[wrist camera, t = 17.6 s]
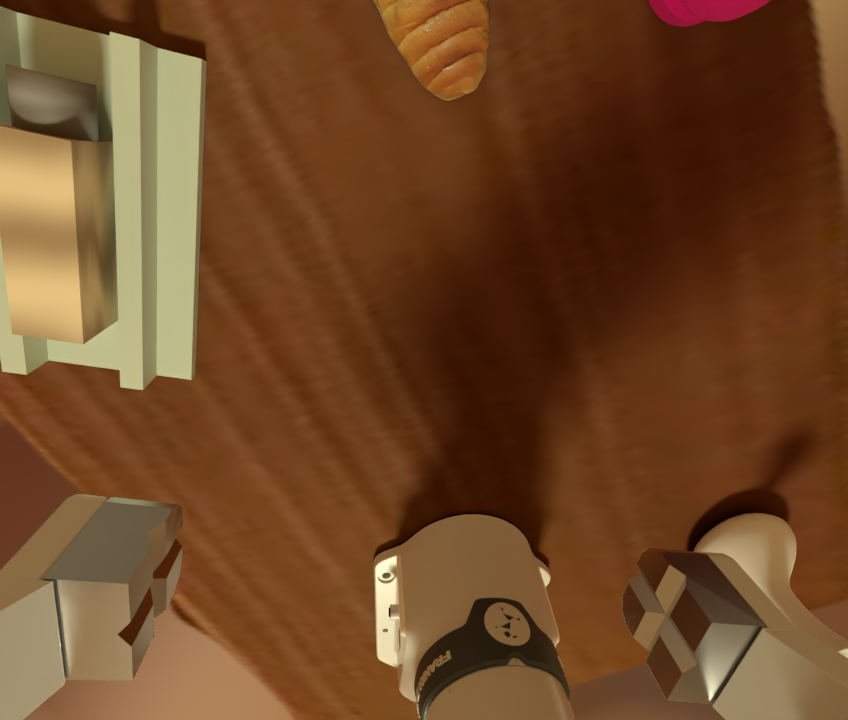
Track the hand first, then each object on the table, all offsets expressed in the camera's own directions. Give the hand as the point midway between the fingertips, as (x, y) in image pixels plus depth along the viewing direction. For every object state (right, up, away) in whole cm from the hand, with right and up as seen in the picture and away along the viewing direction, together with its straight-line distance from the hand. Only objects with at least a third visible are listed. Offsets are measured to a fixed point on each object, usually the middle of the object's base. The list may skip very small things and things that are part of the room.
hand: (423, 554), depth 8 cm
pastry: (+1, +26, +22) cm, 34 cm away
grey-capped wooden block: (-23, +14, +23) cm, 35 cm away
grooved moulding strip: (-23, +13, +24) cm, 36 cm away
